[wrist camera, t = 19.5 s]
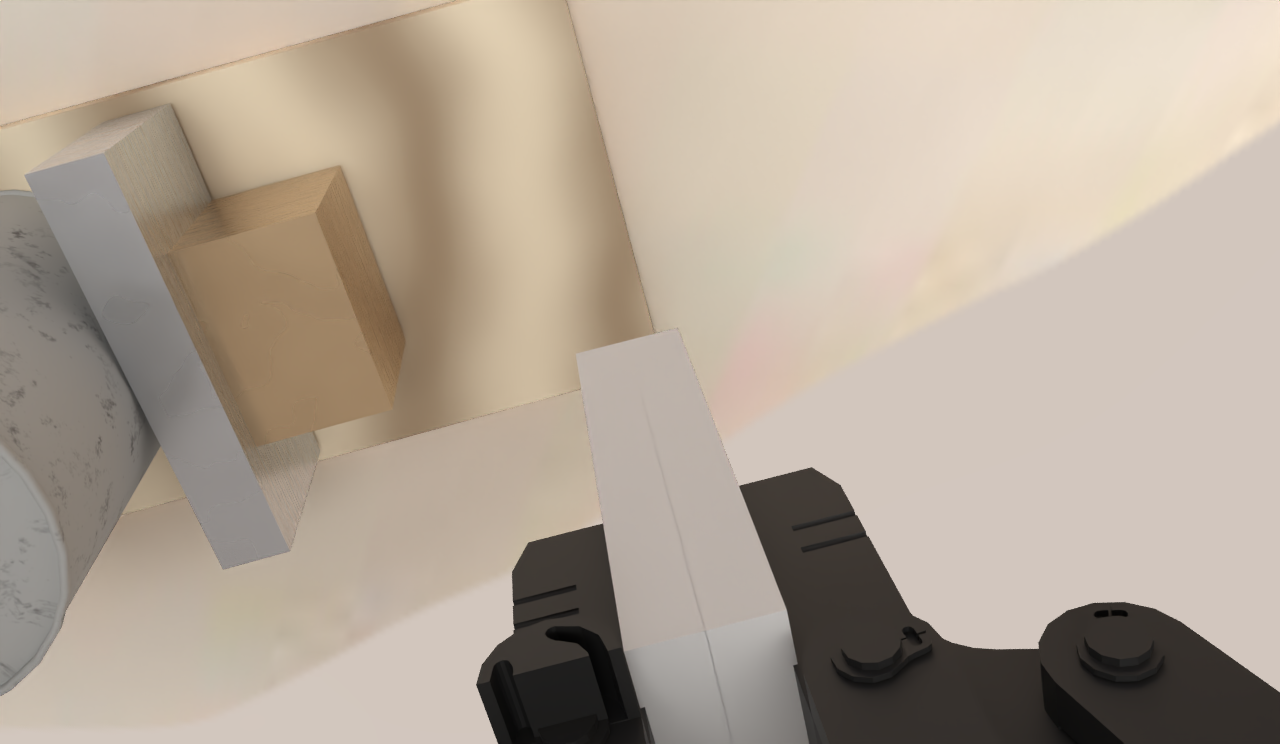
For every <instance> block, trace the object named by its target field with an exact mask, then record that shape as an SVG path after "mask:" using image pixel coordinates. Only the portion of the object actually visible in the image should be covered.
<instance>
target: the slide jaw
mask: <svg viewBox="0 0 1280 744" xmlns="http://www.w3.org/2000/svg"><path fill="white" fill-rule="evenodd" d="M24 176H25V178H26V180H27V182H28V184H29V186H30V188H31V190H32V192H33V194H34V196H35V198H36V200H37V202H38V204H39V206H40V208H41V210H42V212H43V214H44V216H45V218H46V220H47V222H48V224H49V226H50V228H51V230H52V232H53V234H54V236H55V238H56V239H57V241H58V243H59V245H60V247H61V249H62V251H63V253H64V255H65V257H66V259H67V261H68V263H69V265H70V267H71V269H72V271H73V273H74V275H75V277H76V279H77V281H78V283H79V285H80V287H81V289H82V291H83V293H84V295H85V297H86V299H87V301H88V303H89V305H90V307H91V309H92V311H93V313H94V315H95V317H96V319H97V321H98V323H99V325H100V327H101V329H102V331H103V333H104V335H105V336H106V338H107V340H108V342H109V344H110V346H111V348H112V350H113V352H114V354H115V356H116V358H117V360H118V362H119V364H120V366H121V368H122V370H123V372H124V374H125V376H126V378H127V380H128V382H129V384H130V386H131V388H132V390H133V392H134V394H135V396H136V398H137V400H138V402H139V404H140V406H141V408H142V410H143V412H144V414H145V416H146V418H147V420H148V422H149V424H150V426H151V428H152V430H153V432H154V434H155V435H156V437H157V439H158V441H159V443H160V445H161V447H162V449H163V451H164V453H165V455H166V457H167V459H168V461H169V463H170V465H171V467H172V469H173V471H174V473H175V475H176V477H177V479H178V481H179V483H180V485H181V487H182V489H183V491H184V493H185V495H186V497H187V499H188V501H189V503H190V505H191V507H192V509H193V511H194V513H195V515H196V517H197V519H198V521H199V523H200V525H201V527H202V529H203V531H204V532H205V534H206V536H207V538H208V540H209V542H210V544H211V546H212V548H213V550H214V552H215V554H216V556H217V558H218V560H219V562H220V564H221V566H222V568H223V569H227V568H230V567H234V566H238V565H241V564H245V563H249V562H252V561H256V560H260V559H263V558H267V557H271V556H274V555H278V554H281V553H285V552H289V551H290V550H291V547H292V544H293V540H294V537H295V534H296V530H297V527H298V524H299V520H300V517H301V514H302V510H303V507H304V504H305V501H306V497H307V494H308V491H309V487H310V484H311V481H312V477H313V474H314V471H315V467H316V464H317V461H318V458H319V454H320V448H319V446H318V444H317V442H316V439H315V437H314V435H313V432H312V431H316V430H320V429H323V428H327V427H331V426H334V425H338V424H342V423H345V422H349V421H352V420H356V419H360V418H363V417H367V416H371V415H374V414H378V413H382V412H385V411H389V410H392V409H393V404H394V398H395V393H396V388H397V383H398V378H399V373H400V368H401V363H402V357H403V352H404V347H405V342H406V340H405V337H404V334H403V332H402V329H401V326H400V324H399V321H398V318H397V316H396V313H395V310H394V308H393V305H392V302H391V300H390V297H389V294H388V292H387V289H386V286H385V284H384V281H383V278H382V276H381V273H380V270H379V268H378V265H377V262H376V260H375V257H374V254H373V252H372V249H371V246H370V244H369V241H368V238H367V236H366V233H365V230H364V228H363V225H362V222H361V220H360V217H359V214H358V212H357V209H356V206H355V204H354V201H353V198H352V196H351V193H350V190H349V188H348V185H347V182H346V180H345V177H344V174H343V172H342V169H341V166H340V165H338V166H334V167H331V168H327V169H323V170H320V171H316V172H313V173H309V174H305V175H302V176H298V177H294V178H291V179H287V180H283V181H280V182H276V183H273V184H269V185H265V186H262V187H258V188H254V189H251V190H247V191H243V192H240V193H236V194H233V195H229V196H225V197H222V198H218V199H214V200H212V199H211V197H210V194H209V192H208V190H207V187H206V185H205V183H204V180H203V178H202V176H201V173H200V171H199V169H198V167H197V164H196V162H195V160H194V157H193V155H192V153H191V150H190V148H189V146H188V143H187V141H186V139H185V136H184V134H183V132H182V130H181V127H180V125H179V123H178V120H177V118H176V116H175V113H174V111H173V109H172V106H171V104H170V103H169V104H165V105H162V106H158V107H154V108H151V109H147V110H144V111H140V112H136V113H133V114H129V115H125V116H122V117H118V118H115V119H111V120H107V121H104V122H102V123H101V124H99V125H98V126H96V127H95V128H93V129H92V130H90V131H89V132H87V133H86V134H84V135H83V136H81V137H80V138H78V139H77V140H75V141H74V142H72V143H71V144H69V145H68V146H66V147H65V148H63V149H62V150H60V151H59V152H57V153H56V154H54V155H53V156H51V157H50V158H48V159H47V160H45V161H44V162H42V163H41V164H39V165H38V166H36V167H35V168H34V169H32V170H31V171H29V172H28V173H26V174H25V175H24Z"/></svg>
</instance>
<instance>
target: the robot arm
mask: <svg viewBox="0 0 1280 744" xmlns="http://www.w3.org/2000/svg"><path fill="white" fill-rule="evenodd" d="M576 360H577V366H578V372H579V378H580V384H581V391H582V397H583V403H584V409H585V415H586V421H587V428H588V434H589V440H590V446H591V452H592V458H593V465H594V471H595V477H596V483H597V489H598V495H599V502H600V508H601V514H602V520H603V524H600V525H596V526H592V527H588V528H584V529H580V530H576V531H572V532H568V533H564V534H560V535H556V536H552V537H549V538H545V539H541V540H537V541H533V542H529V543H528V544H527V546H526V548H525V550H524V551H523V553H522V555H521V557H520V559H519V561H518V562H517V564H516V566H515V568H514V570H513V571H512V583H513V603H514V606H513V620H514V621H513V623H514V628H515V630H514V634H513V635H512V636H510V637H509V638H507V639H506V640H505V641H503V642H502V643H500V644H499V645H497V647H496V648H495V649H494V650H493V652H492V653H491V654H490V655H489V657H488V658H487V659H486V660H485V662H484V663H483V664H482V667H481V670H480V674H479V677H478V681H477V684H476V685H477V688H478V691H479V693H480V696H481V699H482V701H483V704H484V707H485V710H486V712H487V715H488V718H489V720H490V723H491V726H492V728H493V731H494V734H495V736H496V739H497V742H498V744H1280V692H1278V691H1277V690H1276V689H1274V688H1273V687H1271V686H1270V685H1268V684H1267V683H1266V682H1264V681H1263V680H1261V679H1260V678H1259V677H1257V676H1256V675H1255V674H1253V673H1252V672H1250V671H1249V670H1248V669H1246V668H1245V667H1243V666H1242V665H1240V664H1239V663H1238V662H1236V661H1235V660H1233V659H1232V658H1231V657H1229V656H1228V655H1226V654H1225V653H1224V652H1222V651H1221V650H1219V649H1218V648H1217V647H1215V646H1214V645H1212V644H1211V643H1210V642H1208V641H1207V640H1205V639H1204V638H1203V637H1201V636H1200V635H1198V634H1197V633H1196V632H1194V631H1193V630H1191V629H1190V628H1188V627H1187V626H1186V625H1184V624H1183V623H1182V622H1180V621H1178V620H1176V619H1174V618H1172V617H1170V616H1168V615H1166V614H1164V613H1162V612H1160V611H1158V610H1156V609H1153V608H1149V607H1144V606H1139V605H1135V604H1130V603H1125V602H1115V603H1092V604H1089V605H1085V606H1082V607H1078V608H1075V609H1071V610H1068V611H1066V612H1065V613H1063V614H1062V615H1061V616H1060V617H1058V618H1056V619H1055V620H1053V621H1052V622H1051V623H1049V624H1048V625H1047V627H1046V629H1045V631H1044V633H1043V635H1042V637H1041V639H1040V641H1039V649H1003V650H1000V649H999V650H996V649H982V648H971V647H967V646H963V645H958V644H955V643H951V642H949V641H947V640H944V639H943V638H942V637H941V636H940V635H939V634H938V633H937V632H936V631H935V630H934V629H933V628H932V627H931V626H930V624H928V623H927V622H925V621H923V620H920V619H919V618H916V617H914V616H913V615H912V614H911V613H910V612H909V610H908V608H907V606H906V604H905V602H904V601H903V599H902V597H901V595H900V593H899V591H898V590H897V588H896V586H895V584H894V582H893V580H892V579H891V577H890V575H889V573H888V571H887V569H886V568H885V566H884V564H883V562H882V561H881V559H880V557H879V555H878V553H877V551H876V549H875V548H874V546H873V544H872V542H871V540H870V538H869V537H867V535H866V531H865V529H864V527H863V526H862V524H861V522H860V520H859V518H858V516H857V515H855V512H854V509H853V507H852V506H851V504H850V502H849V500H848V498H847V496H846V495H845V493H844V491H843V489H842V487H841V485H839V484H838V483H836V482H834V481H833V480H831V479H829V478H828V477H826V476H825V475H823V474H822V473H820V472H818V471H816V470H815V469H813V468H808V469H804V470H800V471H796V472H792V473H788V474H784V475H780V476H776V477H772V478H768V479H765V480H761V481H757V482H752V483H749V484H745V485H741V486H739V485H738V482H737V480H736V478H735V475H734V472H733V470H732V467H731V464H730V462H729V459H728V457H727V454H726V452H725V449H724V446H723V444H722V441H721V438H720V436H719V433H718V431H717V428H716V426H715V423H714V420H713V418H712V415H711V413H710V410H709V407H708V405H707V402H706V400H705V397H704V394H703V392H702V389H701V387H700V384H699V381H698V379H697V376H696V374H695V371H694V369H693V366H692V363H691V361H690V358H689V356H688V353H687V350H686V348H685V345H684V343H683V340H682V337H681V335H680V332H679V330H678V328H675V329H671V330H667V331H663V332H659V333H655V334H651V335H648V336H644V337H640V338H636V339H632V340H628V341H624V342H620V343H616V344H612V345H608V346H604V347H600V348H596V349H592V350H588V351H584V352H580V353H576Z"/></svg>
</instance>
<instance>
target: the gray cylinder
mask: <svg viewBox="0 0 1280 744" xmlns="http://www.w3.org/2000/svg"><path fill="white" fill-rule="evenodd" d="M160 446H161V445H160V443H159V441H158V439H157V437H156V435H155V434H154V432H153V430H152V428H151V426H150V424H149V422H148V420H147V418H146V416H145V414H144V412H143V410H142V408H141V406H140V404H139V402H138V400H137V398H136V396H135V394H134V392H133V390H132V388H131V386H130V384H129V382H128V380H127V378H126V376H125V374H124V372H123V370H122V368H121V366H120V364H119V362H118V360H117V358H116V356H115V354H114V352H113V350H112V348H111V346H110V344H109V342H108V340H107V338H106V336H105V335H104V333H103V331H102V329H101V327H100V325H99V323H98V321H97V319H96V317H95V315H94V313H93V311H92V309H91V307H90V305H89V303H88V301H87V299H86V297H85V295H84V293H83V291H82V289H81V287H80V285H79V283H78V281H77V279H76V277H75V275H74V273H73V271H72V269H71V267H70V265H69V263H68V261H67V259H66V257H65V255H64V253H63V251H62V249H61V247H60V245H59V243H58V241H57V239H56V238H55V236H54V234H53V232H52V230H51V228H50V226H49V224H48V222H47V220H46V218H45V216H44V214H43V212H42V210H41V208H40V206H39V204H38V202H37V200H36V198H35V196H34V194H33V192H31V191H23V190H3V191H0V696H2V695H3V694H5V693H7V692H9V691H10V690H12V689H13V688H14V687H15V686H16V685H17V684H18V683H19V682H20V681H21V680H22V679H23V678H25V677H26V676H27V675H28V674H29V673H30V672H31V671H32V670H33V669H34V668H35V667H36V666H37V665H38V664H39V663H40V662H41V661H42V659H43V657H44V656H45V654H46V652H47V651H48V649H49V647H50V646H51V644H52V642H53V641H54V639H55V637H56V636H57V634H58V632H59V631H60V629H61V627H62V624H63V620H64V616H65V612H66V610H67V608H68V606H69V604H70V603H71V601H72V599H73V597H74V596H75V594H76V592H77V591H78V589H79V587H80V585H81V584H82V582H83V580H84V578H85V577H86V575H87V573H88V571H89V570H90V568H91V566H92V564H93V563H94V561H95V559H96V558H97V556H98V554H99V552H100V551H101V549H102V547H103V545H104V544H105V542H106V540H107V538H108V537H109V535H110V533H111V531H112V530H113V528H114V526H115V525H116V523H117V521H118V519H119V518H120V516H121V514H122V512H123V511H124V509H125V507H126V505H127V504H128V502H129V500H130V498H131V497H132V495H133V493H134V491H135V490H136V488H137V486H138V485H139V483H140V481H141V479H142V478H143V476H144V474H145V472H146V471H147V469H148V467H149V465H150V464H151V462H152V460H153V458H154V457H155V455H156V453H157V452H158V450H159V448H160Z"/></svg>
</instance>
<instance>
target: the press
mask: <svg viewBox="0 0 1280 744" xmlns="http://www.w3.org/2000/svg"><path fill="white" fill-rule="evenodd" d="M169 103H170V104H171V106H172V109H173V111H174V113H175V116H176V118H177V120H178V123H179V125H180V127H181V130H182V132H183V134H184V136H185V139H186V141H187V143H188V146H189V148H190V150H191V153H192V155H193V157H194V160H195V162H196V164H197V167H198V169H199V171H200V173H201V176H202V178H203V180H204V183H205V185H206V187H207V190H208V192H209V194H210V197H211V199H212V200H214V199H218V198H222V197H225V196H229V195H233V194H236V193H240V192H243V191H247V190H251V189H254V188H258V187H262V186H265V185H269V184H273V183H276V182H280V181H283V180H287V179H291V178H294V177H298V176H302V175H305V174H309V173H313V172H316V171H320V170H323V169H327V168H331V167H334V166H338V165H340V166H341V169H342V172H343V174H344V177H345V180H346V182H347V185H348V188H349V190H350V193H351V196H352V198H353V201H354V204H355V206H356V209H357V212H358V214H359V217H360V220H361V222H362V225H363V228H364V230H365V233H366V236H367V238H368V241H369V244H370V246H371V249H372V252H373V254H374V257H375V260H376V262H377V265H378V268H379V270H380V273H381V276H382V278H383V281H384V284H385V286H386V289H387V292H388V294H389V297H390V300H391V302H392V305H393V308H394V310H395V313H396V316H397V318H398V321H399V324H400V326H401V329H402V332H403V334H404V337H405V340H406V342H405V347H404V352H403V357H402V363H401V368H400V373H399V378H398V383H397V388H396V393H395V398H394V404H393V409H392V410H389V411H385V412H382V413H378V414H374V415H371V416H367V417H363V418H360V419H356V420H352V421H349V422H345V423H342V424H338V425H334V426H331V427H327V428H323V429H320V430H316V431H312V432H313V435H314V437H315V439H316V442H317V444H318V446H319V448H320V454H319V458H318V461H321V460H325V459H329V458H332V457H336V456H340V455H343V454H347V453H351V452H354V451H358V450H362V449H365V448H369V447H372V446H376V445H380V444H383V443H387V442H391V441H394V440H398V439H402V438H405V437H409V436H413V435H416V434H420V433H423V432H427V431H431V430H434V429H438V428H442V427H445V426H449V425H453V424H456V423H460V422H464V421H467V420H471V419H474V418H478V417H482V416H485V415H489V414H493V413H496V412H500V411H504V410H507V409H511V408H515V407H518V406H522V405H525V404H529V403H533V402H536V401H540V400H544V399H547V398H551V397H555V396H558V395H562V394H566V393H569V392H573V391H576V390H580V389H581V384H580V378H579V372H578V366H577V360H576V353H580V352H584V351H588V350H592V349H596V348H600V347H604V346H608V345H612V344H616V343H620V342H624V341H628V340H632V339H636V338H640V337H644V336H648V335H651V334H654V330H653V326H652V323H651V319H650V315H649V311H648V308H647V304H646V300H645V296H644V292H643V289H642V285H641V281H640V277H639V274H638V270H637V266H636V262H635V258H634V255H633V251H632V247H631V243H630V240H629V236H628V232H627V228H626V225H625V221H624V217H623V213H622V209H621V206H620V202H619V198H618V194H617V191H616V187H615V183H614V179H613V175H612V172H611V168H610V164H609V160H608V157H607V153H606V149H605V145H604V141H603V138H602V134H601V130H600V126H599V123H598V119H597V115H596V111H595V107H594V104H593V100H592V96H591V92H590V89H589V85H588V81H587V77H586V73H585V70H584V66H583V62H582V58H581V55H580V51H579V47H578V43H577V39H576V36H575V32H574V28H573V24H572V21H571V17H570V13H569V9H568V5H567V2H566V0H457V1H453V2H449V3H446V4H442V5H438V6H435V7H431V8H428V9H424V10H420V11H417V12H413V13H409V14H406V15H402V16H399V17H395V18H391V19H388V20H384V21H380V22H377V23H373V24H369V25H366V26H362V27H359V28H355V29H351V30H348V31H344V32H340V33H337V34H333V35H330V36H326V37H322V38H319V39H315V40H311V41H308V42H304V43H300V44H297V45H293V46H290V47H286V48H282V49H279V50H275V51H271V52H268V53H264V54H261V55H257V56H253V57H250V58H246V59H242V60H239V61H235V62H231V63H228V64H224V65H221V66H217V67H213V68H210V69H206V70H202V71H199V72H195V73H192V74H188V75H184V76H181V77H177V78H173V79H170V80H166V81H162V82H159V83H155V84H152V85H148V86H144V87H141V88H137V89H133V90H130V91H126V92H123V93H119V94H115V95H112V96H108V97H104V98H101V99H97V100H93V101H90V102H86V103H83V104H79V105H75V106H72V107H68V108H64V109H61V110H57V111H54V112H50V113H46V114H43V115H39V116H35V117H32V118H28V119H24V120H21V121H17V122H14V123H10V124H6V125H3V126H0V191H3V190H23V191H31V192H32V190H31V188H30V186H29V184H28V182H27V180H26V178H25V176H24V175H25V174H26V173H28V172H29V171H31V170H32V169H34V168H35V167H36V166H38V165H39V164H41V163H42V162H44V161H45V160H47V159H48V158H50V157H51V156H53V155H54V154H56V153H57V152H59V151H60V150H62V149H63V148H65V147H66V146H68V145H69V144H71V143H72V142H74V141H75V140H77V139H78V138H80V137H81V136H83V135H84V134H86V133H87V132H89V131H90V130H92V129H93V128H95V127H96V126H98V125H99V124H101V123H102V122H104V121H107V120H111V119H115V118H118V117H122V116H125V115H129V114H133V113H136V112H140V111H144V110H147V109H151V108H154V107H158V106H162V105H165V104H169ZM318 461H317V462H318ZM183 498H187V497H186V495H185V493H184V491H183V489H182V487H181V485H180V483H179V481H178V479H177V477H176V475H175V473H174V471H173V469H172V467H171V465H170V463H169V461H168V459H167V457H166V455H165V453H164V451H163V449H162V447H161V446H160V448H159V450H158V452H157V453H156V455H155V457H154V458H153V460H152V462H151V464H150V465H149V467H148V469H147V471H146V472H145V474H144V476H143V478H142V479H141V481H140V483H139V485H138V486H137V488H136V490H135V491H134V493H133V495H132V497H131V498H130V500H129V502H128V504H127V505H126V507H125V509H124V511H123V512H122V514H121V515H125V514H128V513H132V512H136V511H139V510H143V509H147V508H150V507H154V506H158V505H161V504H165V503H168V502H172V501H176V500H179V499H183Z"/></svg>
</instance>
